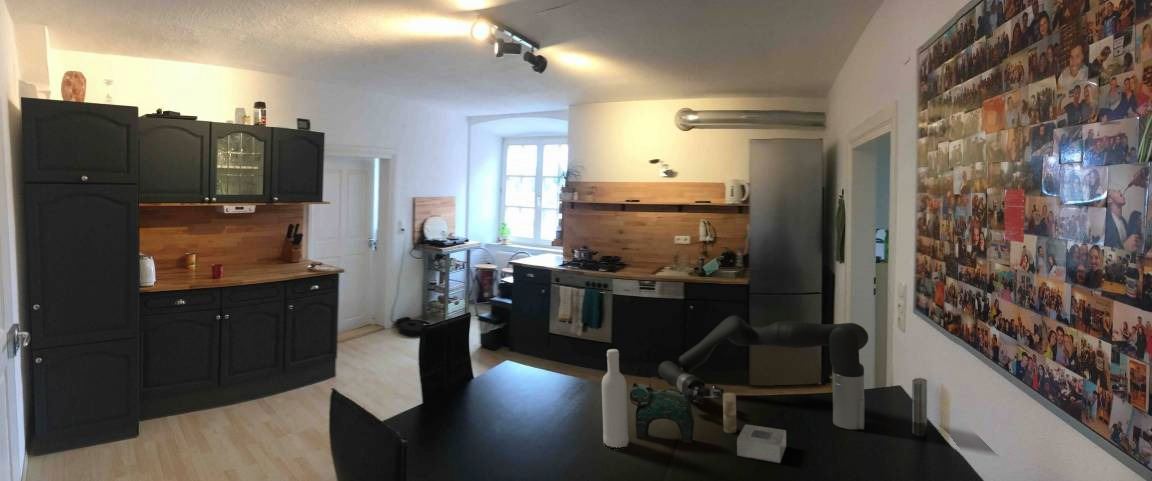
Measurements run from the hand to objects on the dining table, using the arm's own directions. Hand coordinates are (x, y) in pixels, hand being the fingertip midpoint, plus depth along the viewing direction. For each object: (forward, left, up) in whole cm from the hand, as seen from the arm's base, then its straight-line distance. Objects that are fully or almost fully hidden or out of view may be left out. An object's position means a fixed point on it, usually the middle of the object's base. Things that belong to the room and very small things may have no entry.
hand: (713, 399), depth 192 cm
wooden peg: (-7, +7, -7) cm, 12 cm away
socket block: (-19, +18, -7) cm, 27 cm away
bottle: (+23, +31, -7) cm, 39 cm away
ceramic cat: (+11, +21, -7) cm, 25 cm away
